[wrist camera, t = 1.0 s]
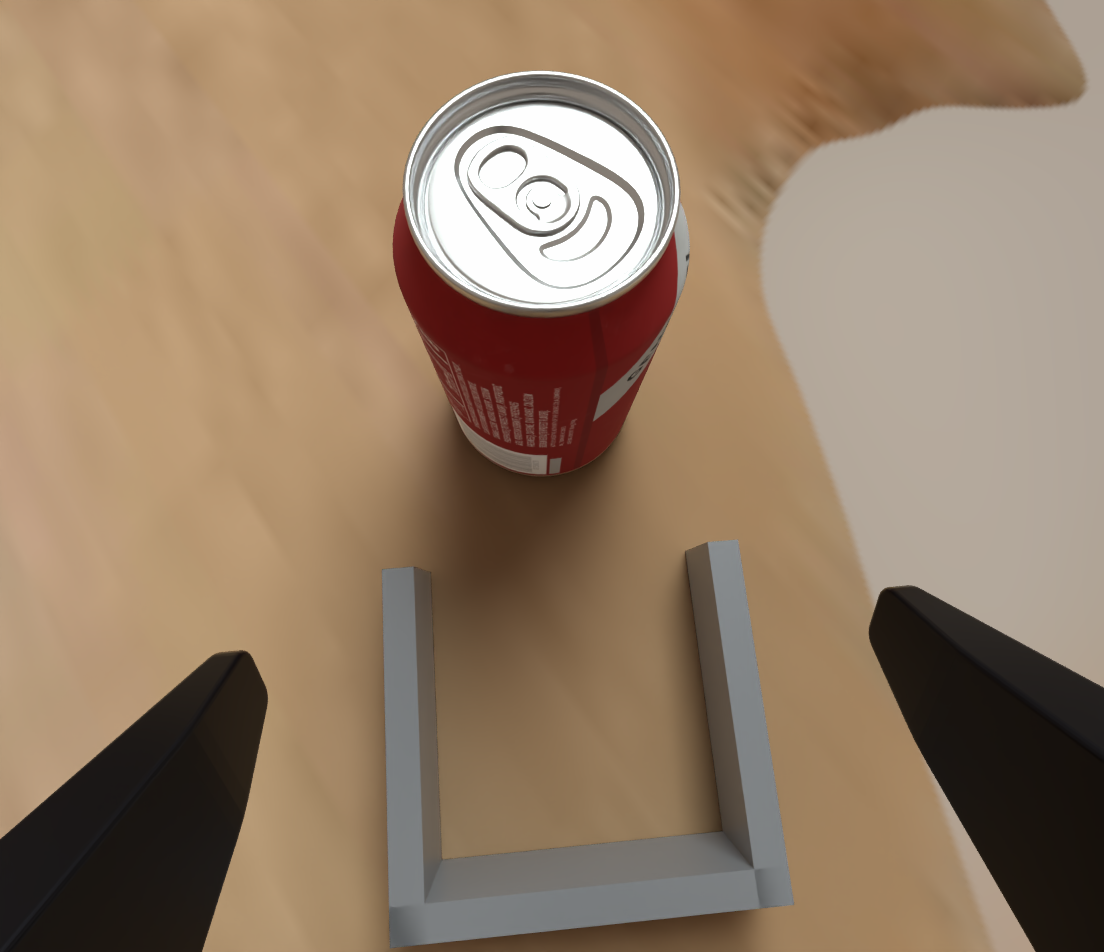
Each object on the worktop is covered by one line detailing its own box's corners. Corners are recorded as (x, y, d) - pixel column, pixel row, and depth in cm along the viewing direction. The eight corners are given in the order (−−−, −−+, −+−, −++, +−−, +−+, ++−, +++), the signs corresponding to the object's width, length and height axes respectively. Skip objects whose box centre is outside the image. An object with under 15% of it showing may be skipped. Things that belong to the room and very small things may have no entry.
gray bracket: (756, 861, 20) (793, 904, 17) (412, 896, 19) (389, 948, 16) (711, 548, 22) (737, 539, 19) (403, 574, 22) (381, 569, 19)
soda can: (546, 517, 22) (554, 413, 11) (419, 402, 23) (297, 190, 11) (660, 392, 23) (781, 177, 12) (536, 288, 24) (531, -9, 13)
